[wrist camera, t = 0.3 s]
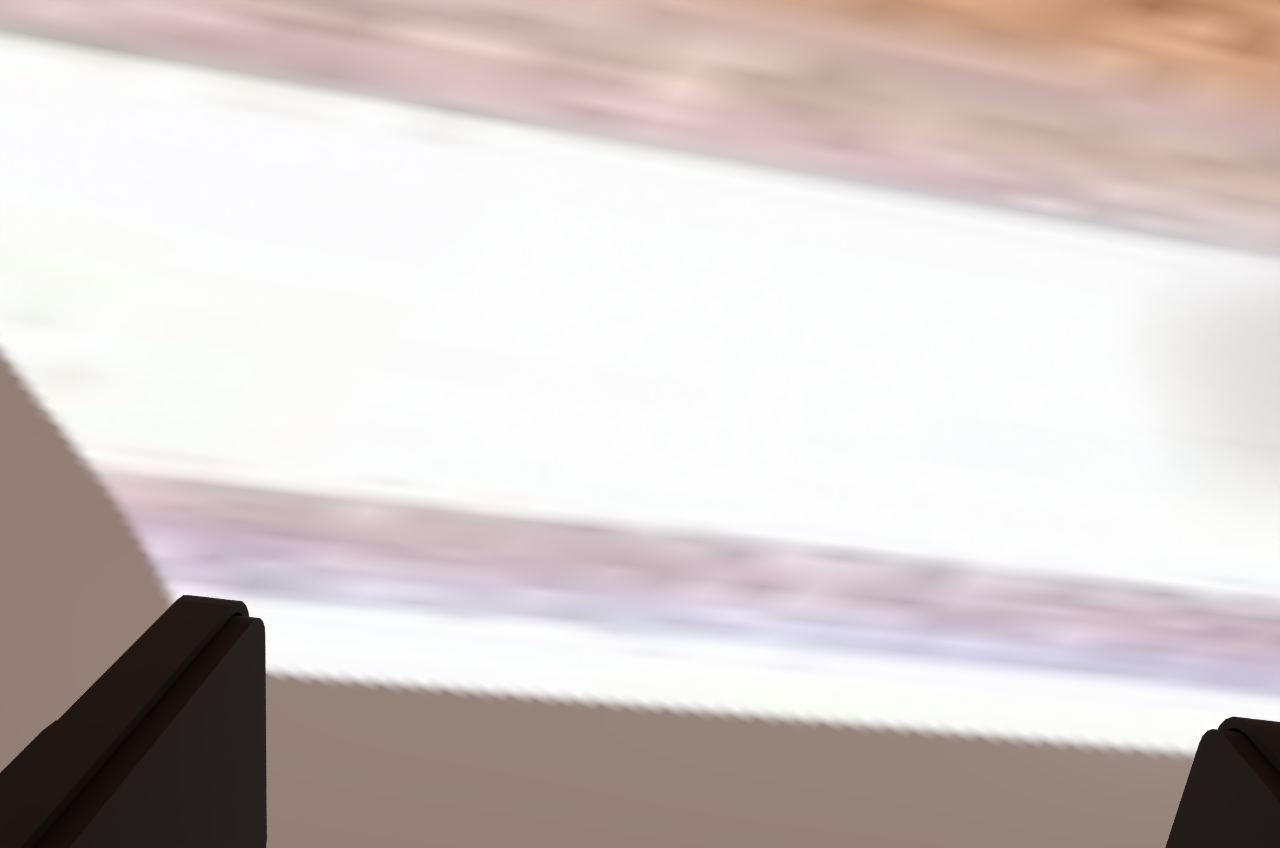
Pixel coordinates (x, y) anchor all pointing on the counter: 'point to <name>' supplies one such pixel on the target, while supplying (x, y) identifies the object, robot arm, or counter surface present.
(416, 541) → the counter surface
